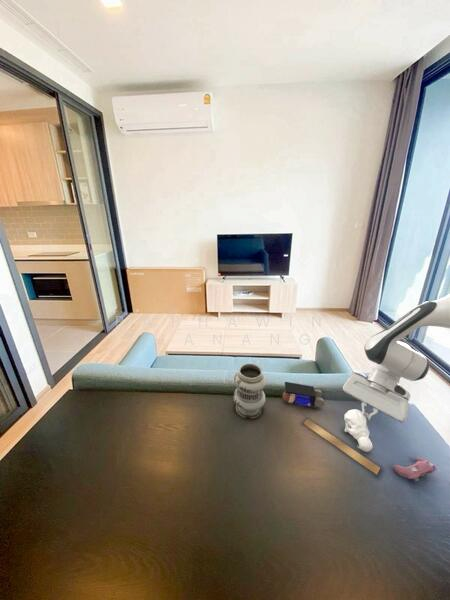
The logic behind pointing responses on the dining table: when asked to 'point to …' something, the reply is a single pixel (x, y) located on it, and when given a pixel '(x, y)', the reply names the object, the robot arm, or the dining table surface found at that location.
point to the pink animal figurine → (416, 469)
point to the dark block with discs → (302, 395)
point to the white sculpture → (358, 428)
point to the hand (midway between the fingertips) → (365, 417)
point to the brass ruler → (343, 447)
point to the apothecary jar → (249, 390)
